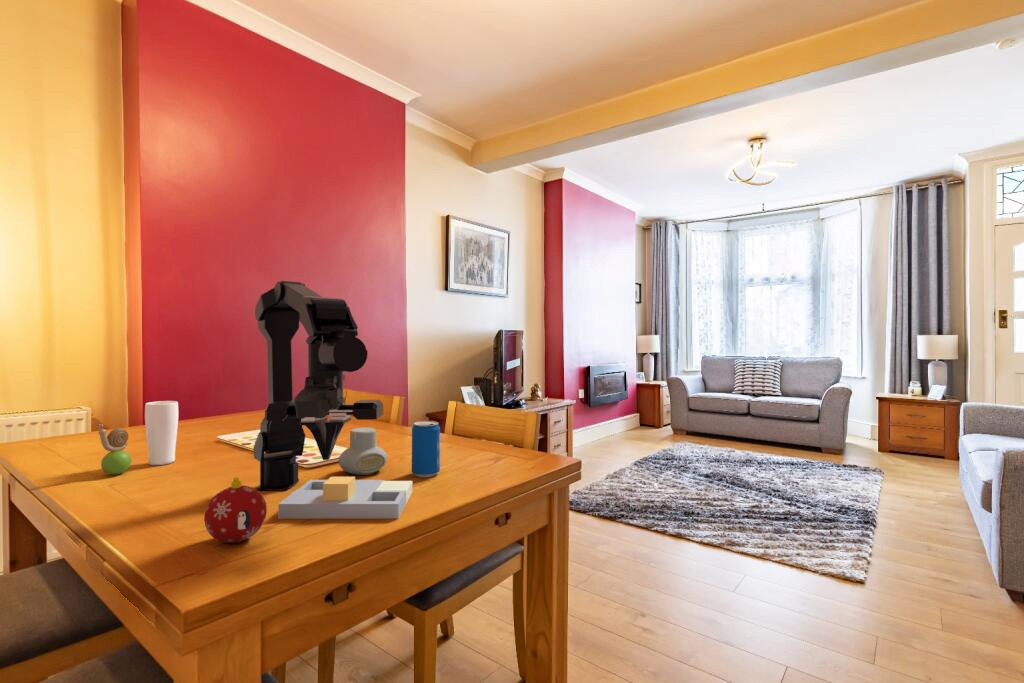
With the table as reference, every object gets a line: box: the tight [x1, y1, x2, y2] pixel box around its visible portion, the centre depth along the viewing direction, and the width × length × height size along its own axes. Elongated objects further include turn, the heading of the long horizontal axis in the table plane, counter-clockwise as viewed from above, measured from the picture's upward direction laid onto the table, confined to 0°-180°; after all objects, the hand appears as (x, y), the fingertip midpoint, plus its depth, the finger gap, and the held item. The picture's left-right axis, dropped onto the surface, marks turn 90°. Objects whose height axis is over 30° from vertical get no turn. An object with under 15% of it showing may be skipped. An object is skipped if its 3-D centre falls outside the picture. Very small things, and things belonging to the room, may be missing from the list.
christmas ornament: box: [203, 476, 268, 544], centre depth 78 cm, size 9×9×10 cm
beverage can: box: [411, 420, 441, 478], centre depth 116 cm, size 6×6×12 cm
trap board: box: [278, 479, 414, 520], centre depth 95 cm, size 21×15×3 cm
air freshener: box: [338, 427, 388, 476], centre depth 117 cm, size 11×8×10 cm
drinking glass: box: [144, 400, 180, 466], centre depth 122 cm, size 7×7×15 cm
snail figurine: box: [97, 423, 133, 476], centre depth 112 cm, size 5×6×12 cm
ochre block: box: [323, 476, 356, 500], centre depth 92 cm, size 4×4×3 cm
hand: (326, 459), depth 86 cm, fingers closed
